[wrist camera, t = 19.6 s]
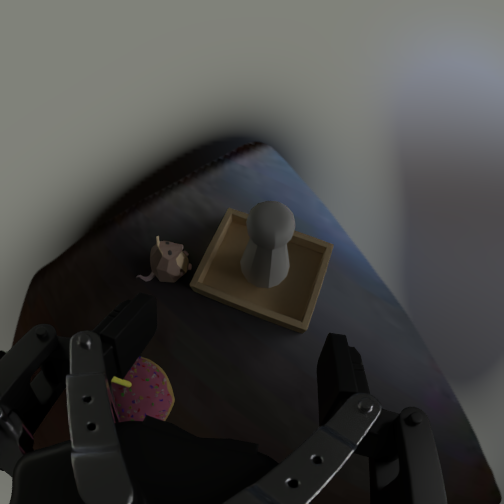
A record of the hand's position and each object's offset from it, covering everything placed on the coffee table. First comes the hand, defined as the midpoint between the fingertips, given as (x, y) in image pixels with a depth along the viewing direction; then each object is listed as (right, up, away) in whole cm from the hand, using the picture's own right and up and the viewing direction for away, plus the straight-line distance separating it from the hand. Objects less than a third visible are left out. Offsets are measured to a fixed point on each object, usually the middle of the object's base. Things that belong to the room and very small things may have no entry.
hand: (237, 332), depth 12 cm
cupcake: (-12, -14, +17) cm, 25 cm away
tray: (+2, +1, +24) cm, 24 cm away
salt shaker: (+2, +1, +23) cm, 23 cm away
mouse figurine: (-11, +1, +24) cm, 27 cm away
